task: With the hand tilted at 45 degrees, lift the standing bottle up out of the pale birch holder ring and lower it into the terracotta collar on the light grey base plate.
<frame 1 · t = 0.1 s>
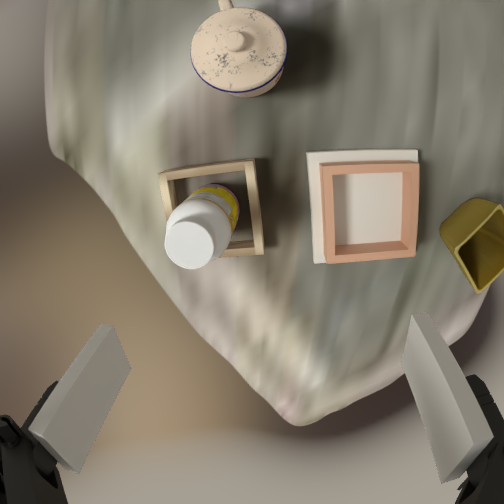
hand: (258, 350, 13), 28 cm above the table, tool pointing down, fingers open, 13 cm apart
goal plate: (364, 204, 38), on the table
flower pot: (457, 226, 38), on the table
holder ring: (214, 208, 39), on the table
teacup with lid: (243, 54, 32), on the table
supplement bottle: (215, 207, 40), resting in holder ring
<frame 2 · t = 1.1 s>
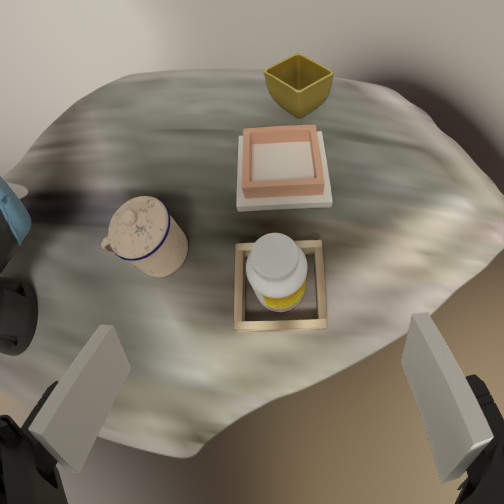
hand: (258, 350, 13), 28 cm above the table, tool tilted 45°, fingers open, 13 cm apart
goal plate: (282, 170, 49), on the table
flower pot: (299, 108, 54), on the table
holder ring: (280, 288, 42), on the table
teacup with lid: (154, 253, 47), on the table
supplement bottle: (280, 288, 42), resting in holder ring
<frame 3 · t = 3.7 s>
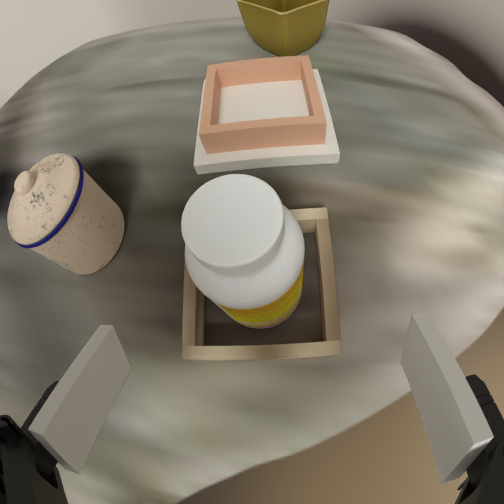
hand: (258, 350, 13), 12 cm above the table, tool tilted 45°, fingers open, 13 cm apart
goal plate: (264, 118, 32), on the table
flower pot: (287, 49, 37), on the table
holder ring: (261, 289, 26), on the table
teacup with lid: (82, 240, 30), on the table
supplement bottle: (261, 289, 26), resting in holder ring
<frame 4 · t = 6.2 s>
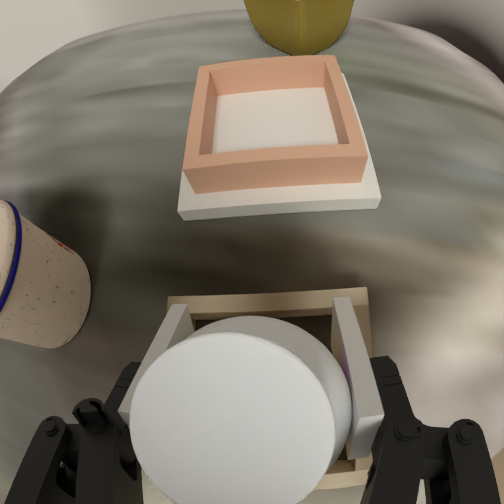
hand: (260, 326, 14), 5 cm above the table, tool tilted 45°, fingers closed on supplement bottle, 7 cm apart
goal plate: (274, 139, 24), on the table
flower pot: (301, 47, 30), on the table
holder ring: (270, 393, 18), on the table
teacup with lid: (44, 300, 22), on the table
supplement bottle: (270, 393, 18), resting in holder ring, touching gripper
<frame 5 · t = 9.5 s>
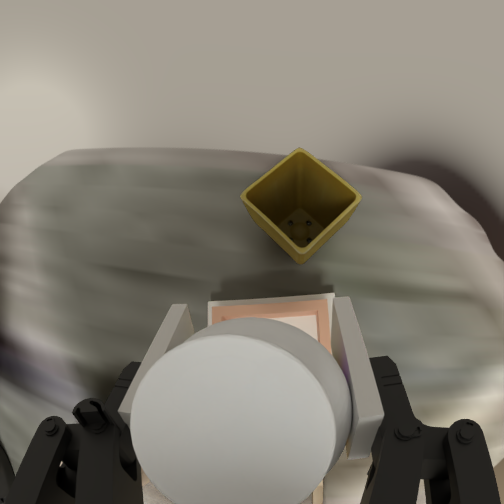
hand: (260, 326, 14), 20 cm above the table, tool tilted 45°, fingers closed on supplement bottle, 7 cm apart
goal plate: (274, 362, 33), on the table
flower pot: (300, 234, 38), on the table
supplement bottle: (270, 394, 18), point 15 cm above the table, touching gripper
when the fingers open (8 cm above the table, at t = 12.9 s): supplement bottle drops 2 cm, resting on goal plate.
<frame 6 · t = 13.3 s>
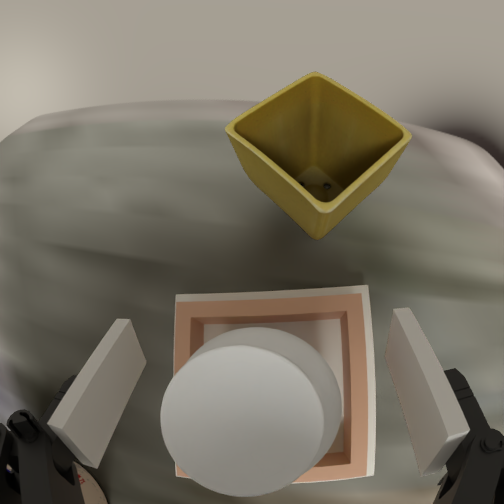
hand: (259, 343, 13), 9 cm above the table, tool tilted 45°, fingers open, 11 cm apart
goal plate: (273, 389, 21), on the table
flower pot: (315, 201, 26), on the table
teacup with lid: (64, 491, 19), on the table
supplement bottle: (273, 392, 19), point 1 cm above the table, touching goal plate
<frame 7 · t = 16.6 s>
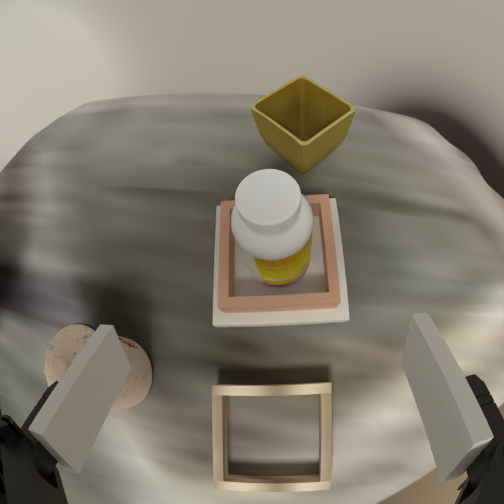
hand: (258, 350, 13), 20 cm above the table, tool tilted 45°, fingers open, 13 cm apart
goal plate: (279, 262, 35), on the table
flower pot: (303, 155, 40), on the table
holder ring: (273, 436, 28), on the table
teacup with lid: (112, 373, 33), on the table
supplement bottle: (278, 259, 34), point 1 cm above the table, touching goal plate
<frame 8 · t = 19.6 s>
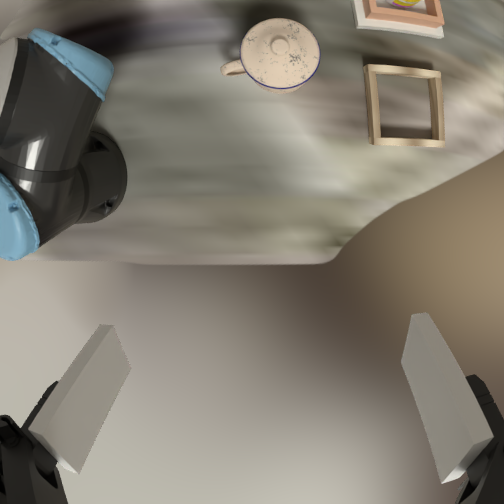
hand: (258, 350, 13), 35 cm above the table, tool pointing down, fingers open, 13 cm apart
holder ring: (403, 106, 38), on the table
teacup with lid: (269, 67, 38), on the table
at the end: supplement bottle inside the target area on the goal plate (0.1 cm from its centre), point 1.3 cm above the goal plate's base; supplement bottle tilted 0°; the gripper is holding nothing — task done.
